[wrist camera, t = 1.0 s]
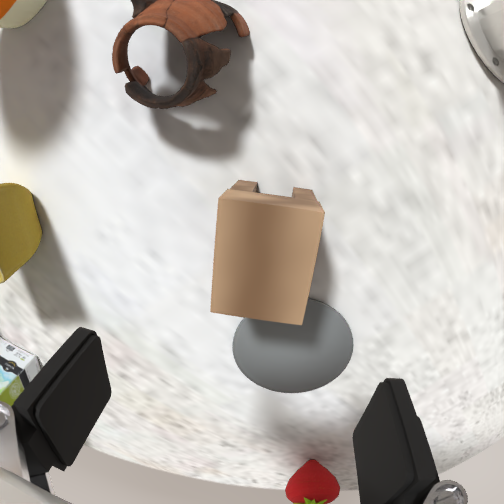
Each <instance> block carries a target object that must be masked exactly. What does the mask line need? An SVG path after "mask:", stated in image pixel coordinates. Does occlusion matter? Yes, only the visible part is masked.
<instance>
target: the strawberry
mask: <svg viewBox="0 0 504 504" xmlns="http://www.w3.org/2000/svg"><path fill="white" fill-rule="evenodd" d="M285 491H286V496H287V498H288V499H289V500H290V501H291V502H293V503H294V504H327V503H330V502H332V501H333V500H335V499H336V498H337V497H338V495H339V491H340V486H339V484H338V482H337V480H336V478H335V477H334V476H333V475H332V474H331V473H330V472H329V471H328V470H327V469H326V468H325V467H323V466H322V465H321V464H320V463H319V462H318V461H316V460H309V461H307V462H306V463H305V464H304V465H303V466H302V467H301V468H300V469H298V470H297V472H296V473H295V474H294V475H293V476H292V477H291V478H290V479H289V481H288V484H287V486H286V489H285Z"/></svg>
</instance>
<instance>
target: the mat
mask: <svg viewBox="0 0 504 504" xmlns="http://www.w3.org/2000/svg"><path fill="white" fill-rule="evenodd" d="M352 352H353V338H352V333H351V330H350V328H349V325H348V323H347V322H346V320H345V319H344V318H343V317H342V315H341V314H340V313H339V312H337V311H336V310H335V309H334V308H332V307H330V306H329V305H327V304H325V303H322V302H320V301H317V300H314V299H309V298H308V300H307V305H306V309H305V314H304V318H303V323H302V325H296V324H288V323H280V322H273V321H266V320H258V319H252V318H245V317H244V319H243V320H242V321H241V322H240V324H239V326H238V328H237V330H236V332H235V335H234V339H233V355H234V358H235V361H236V363H237V365H238V367H239V369H240V370H241V371H242V373H243V374H244V375H245V376H246V377H247V378H249V379H250V380H251V381H253V382H254V383H256V384H257V385H259V386H261V387H264V388H266V389H269V390H273V391H277V392H283V393H299V392H306V391H310V390H314V389H317V388H319V387H322V386H324V385H326V384H327V383H329V382H331V381H332V380H334V379H335V378H336V377H337V376H338V375H339V374H341V372H342V371H343V370H344V369H345V367H346V366H347V364H348V363H349V360H350V358H351V355H352Z"/></svg>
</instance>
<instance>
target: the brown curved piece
mask: <svg viewBox="0 0 504 504" xmlns="http://www.w3.org/2000/svg"><path fill="white" fill-rule="evenodd" d="M131 2H132V4H133V7H134V12H133V16H132V17H133V18H134V19H132V20H130V21H129V22H128V23H127V24H125V25H124V26H123V28H122V29H121V30H120V32H119V33H118V36H117V37H116V40H115V42H114V46H113V53H112V61H113V67H114V71H115V73H120V72H122V71H124V72H125V74H126V76H127V78H128V79H129V81H130V82H128V83H126V84H125V90H126V93H127V94H128V95H129V96H130V97H131V98H132V99H134V100H135V101H137V102H138V103H140V104H142V105H144V106H147V107H150V108H160V109H168V108H170V107H176V106H181V107H184V106H187V105H190V104H192V103H194V102H196V101H199V100H201V99H204V98H206V97H209V96H211V95H213V94H215V93H216V92H217V91H216V90H215V89H212V88H210V87H209V86H208V85H207V84H206V83H205V82H204V81H203V80H205V79H208V78H211V77H213V76H214V75H216V74H217V73H218V72H219V71H220V69H221V68H222V67H224V66H225V65H227V64H228V63H229V61H230V55H231V51H230V49H219V48H218V47H217V46H215V45H212V44H209V43H208V42H206V41H204V40H202V39H201V38H200V37H201V36H203V35H206V34H208V33H211V32H216V31H222V30H224V28H225V27H226V25H227V21H226V19H225V17H227V16H230V17H231V19H232V21H233V23H234V25H235V27H236V29H237V32H238V35H239V36H240V37H244V36H247V35H249V33H250V31H249V28H248V25H247V23H246V22H245V20H244V18H243V17H242V16H241V15H240V14H239V13H238V11H236V10H235V9H234V8H232V7H231V6H229V5H226V4H224V3H221V2H218V1H214V0H131ZM145 25H156V26H160V27H162V28H165V29H166V30H168V31H170V32H171V33H172V34H173V35H174V36H175V37H176V38H177V39H178V40H179V42H180V43H182V45H183V48H184V51H185V54H186V57H187V66H188V67H187V76H186V80H185V83H184V85H183V87H182V88H181V89H180V90H179V91H178V92H177V93H176V94H174V95H171V96H157V95H155V94H152V93H151V92H150V91H149V90H148V88H147V87H146V86H145V85H146V84H147V82H148V80H149V77H148V75H147V74H146V73H145V71H144V70H143V69H142V68H140V67H139V66H135V67H133V68H132V69H131V68H130V66H129V62H128V55H127V52H128V50H127V49H128V43H129V40H130V38H131V36H132V34H133V33H134V32H135V30H137V29H138V28H140V27H142V26H145Z"/></svg>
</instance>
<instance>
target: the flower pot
mask: <svg viewBox="0 0 504 504" xmlns="http://www.w3.org/2000/svg"><path fill="white" fill-rule="evenodd" d="M41 237H42V229H41V226H40V222H39V219H38V216H37V213H36V209H35V205H34V202H33V198H32V194H31V192H30V191H29V190H28V189H27V188H25V187H23V186H21V185H19V184H15V183H3V184H0V283H3V282H5V281H6V280H7V279H8V278H9V277H10V276H12V275H13V274H14V273H15V272H16V271H17V270H18V269H19V268H20V267H21V266H23V265H24V264H25V263H26V262H27V261H28V260H29V259H30V258H31V257H32V256H33V254H34V253H35V252H36V250H37V248H38V246H39V243H40V240H41Z"/></svg>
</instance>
